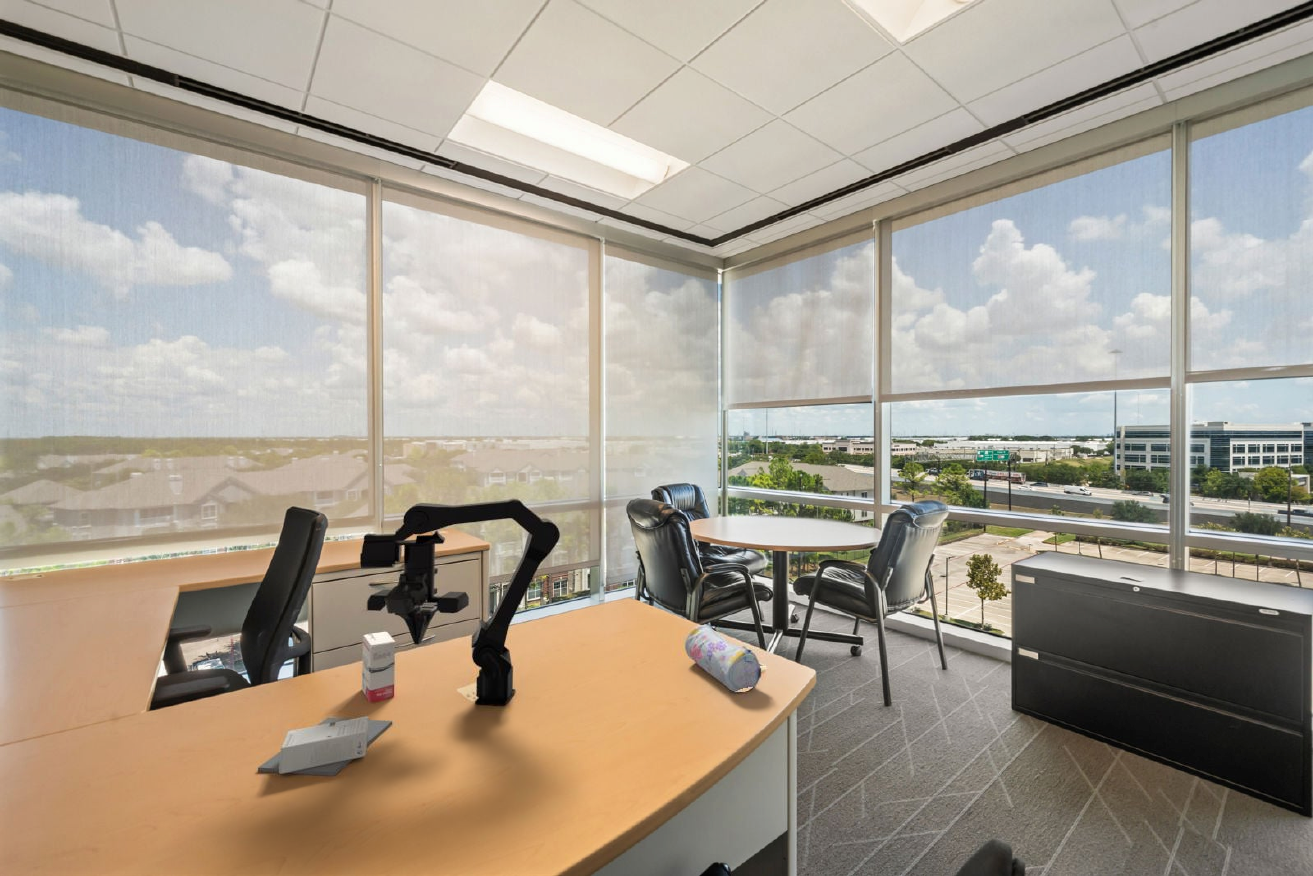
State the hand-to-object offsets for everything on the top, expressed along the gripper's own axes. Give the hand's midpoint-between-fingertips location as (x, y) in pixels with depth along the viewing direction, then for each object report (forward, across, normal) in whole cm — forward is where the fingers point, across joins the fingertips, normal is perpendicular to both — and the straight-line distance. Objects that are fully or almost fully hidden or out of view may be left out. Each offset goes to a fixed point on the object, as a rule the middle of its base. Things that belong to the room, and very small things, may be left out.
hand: (417, 644), depth 106 cm
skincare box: (+10, 0, -15) cm, 18 cm away
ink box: (+13, -12, +6) cm, 19 cm away
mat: (+13, -8, -14) cm, 21 cm away
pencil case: (+13, +62, +22) cm, 67 cm away
